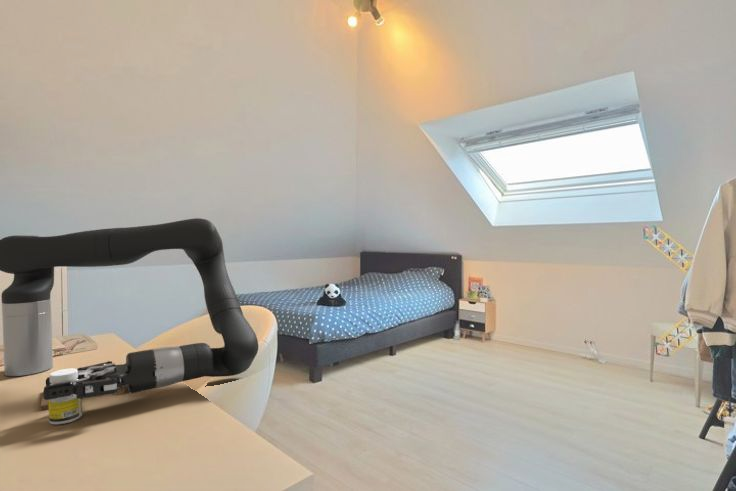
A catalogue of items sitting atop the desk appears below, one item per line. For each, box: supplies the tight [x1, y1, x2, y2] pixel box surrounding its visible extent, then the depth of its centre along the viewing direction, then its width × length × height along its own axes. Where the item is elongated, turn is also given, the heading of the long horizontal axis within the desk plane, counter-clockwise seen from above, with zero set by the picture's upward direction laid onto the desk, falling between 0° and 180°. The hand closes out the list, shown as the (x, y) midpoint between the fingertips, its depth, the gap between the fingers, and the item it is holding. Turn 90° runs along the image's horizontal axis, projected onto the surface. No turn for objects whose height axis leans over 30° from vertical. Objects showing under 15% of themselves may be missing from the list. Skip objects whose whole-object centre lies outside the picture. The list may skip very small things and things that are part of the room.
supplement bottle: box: [48, 367, 83, 425], centre depth 72 cm, size 5×5×8 cm
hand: (45, 388), depth 71 cm, fingers closed on supplement bottle, 4 cm apart
